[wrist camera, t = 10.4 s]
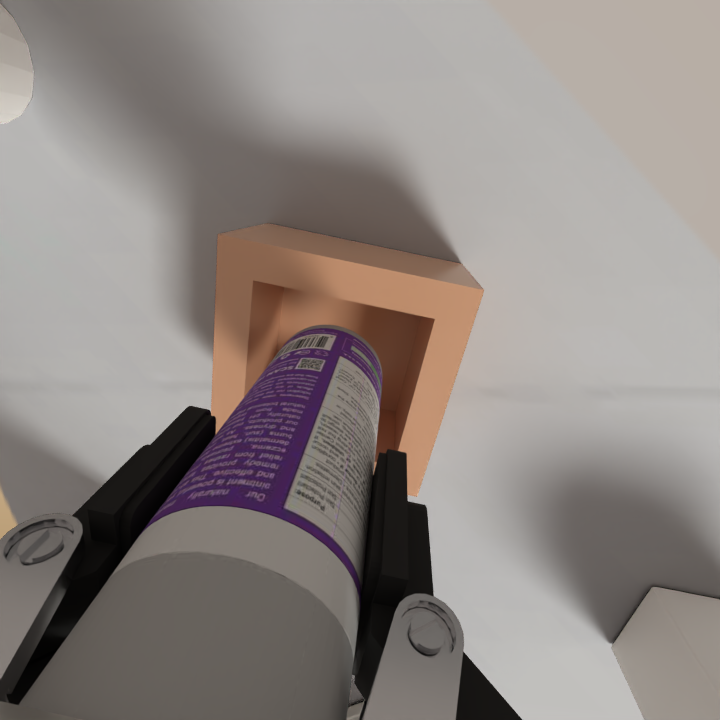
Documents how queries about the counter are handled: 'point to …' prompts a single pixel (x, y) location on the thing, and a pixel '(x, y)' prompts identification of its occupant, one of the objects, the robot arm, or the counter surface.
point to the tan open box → (345, 322)
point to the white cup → (13, 69)
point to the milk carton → (673, 656)
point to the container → (243, 561)
